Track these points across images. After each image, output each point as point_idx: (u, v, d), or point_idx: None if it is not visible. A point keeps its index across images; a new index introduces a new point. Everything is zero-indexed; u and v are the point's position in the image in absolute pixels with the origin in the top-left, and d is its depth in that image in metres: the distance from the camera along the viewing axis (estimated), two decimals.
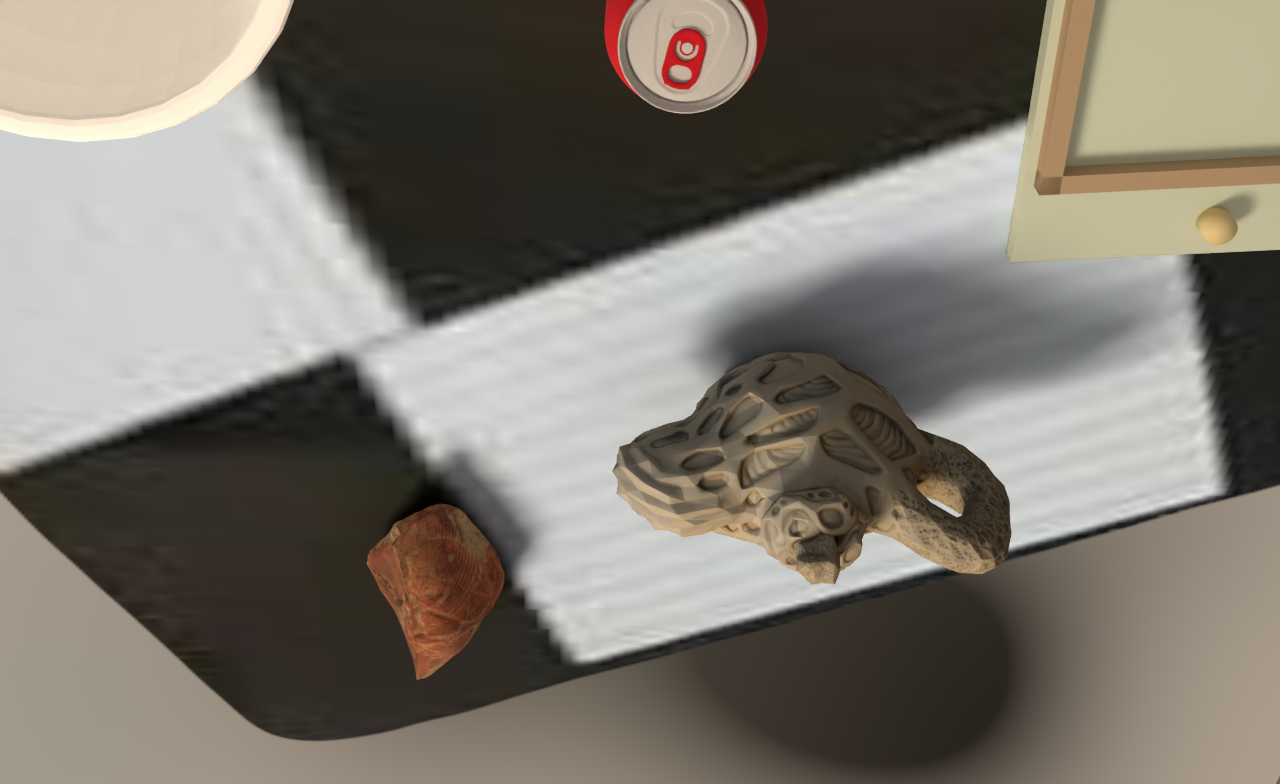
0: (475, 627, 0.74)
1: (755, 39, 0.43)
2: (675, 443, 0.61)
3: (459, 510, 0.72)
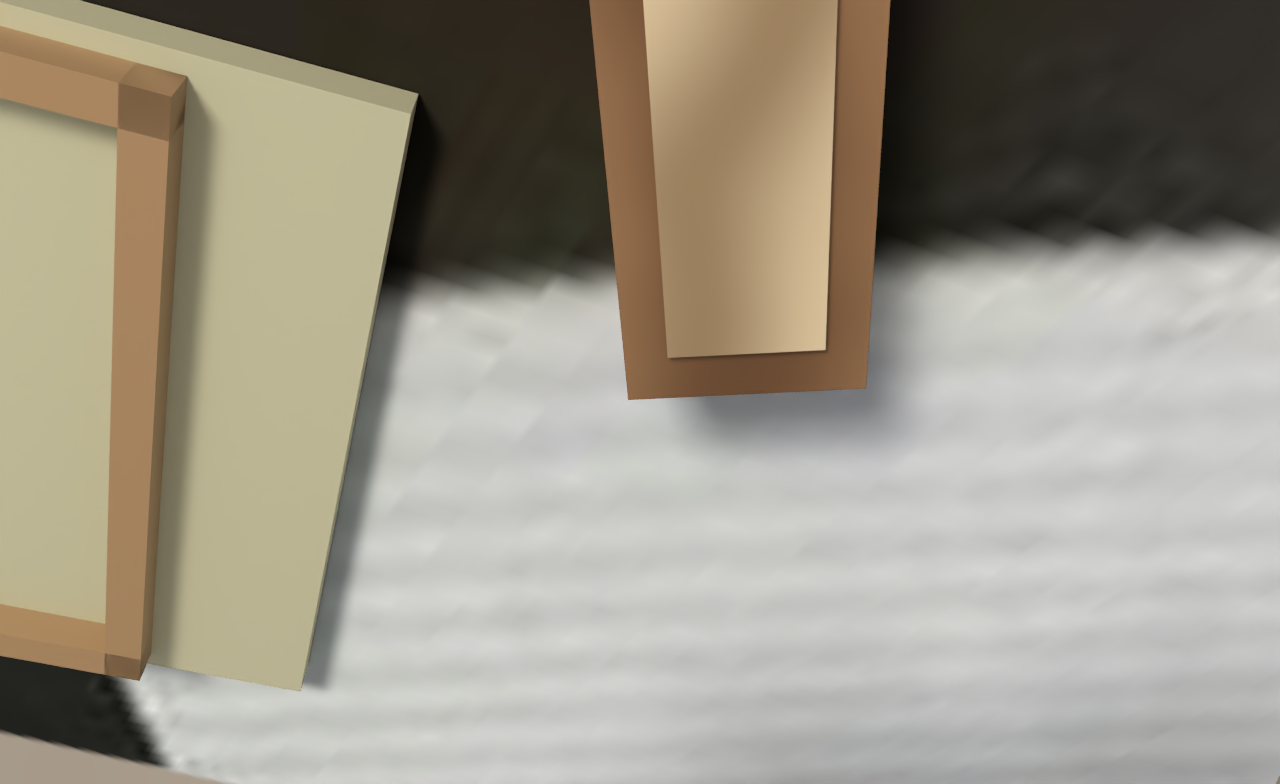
0: None
1: None
2: None
3: None
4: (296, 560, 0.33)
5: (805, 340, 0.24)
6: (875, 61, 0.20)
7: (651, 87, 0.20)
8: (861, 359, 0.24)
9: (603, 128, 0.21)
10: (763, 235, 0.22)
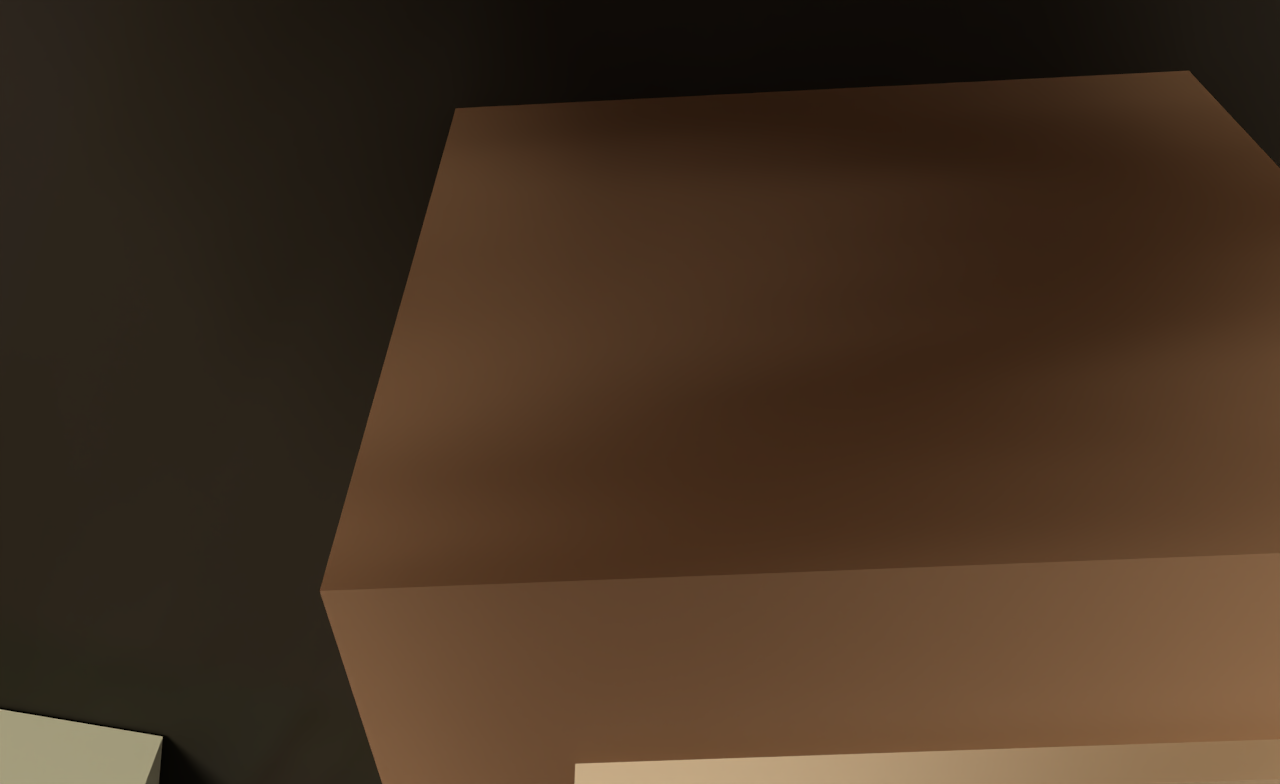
0: None
1: None
2: None
3: None
4: None
5: None
6: None
7: None
8: None
9: None
10: None
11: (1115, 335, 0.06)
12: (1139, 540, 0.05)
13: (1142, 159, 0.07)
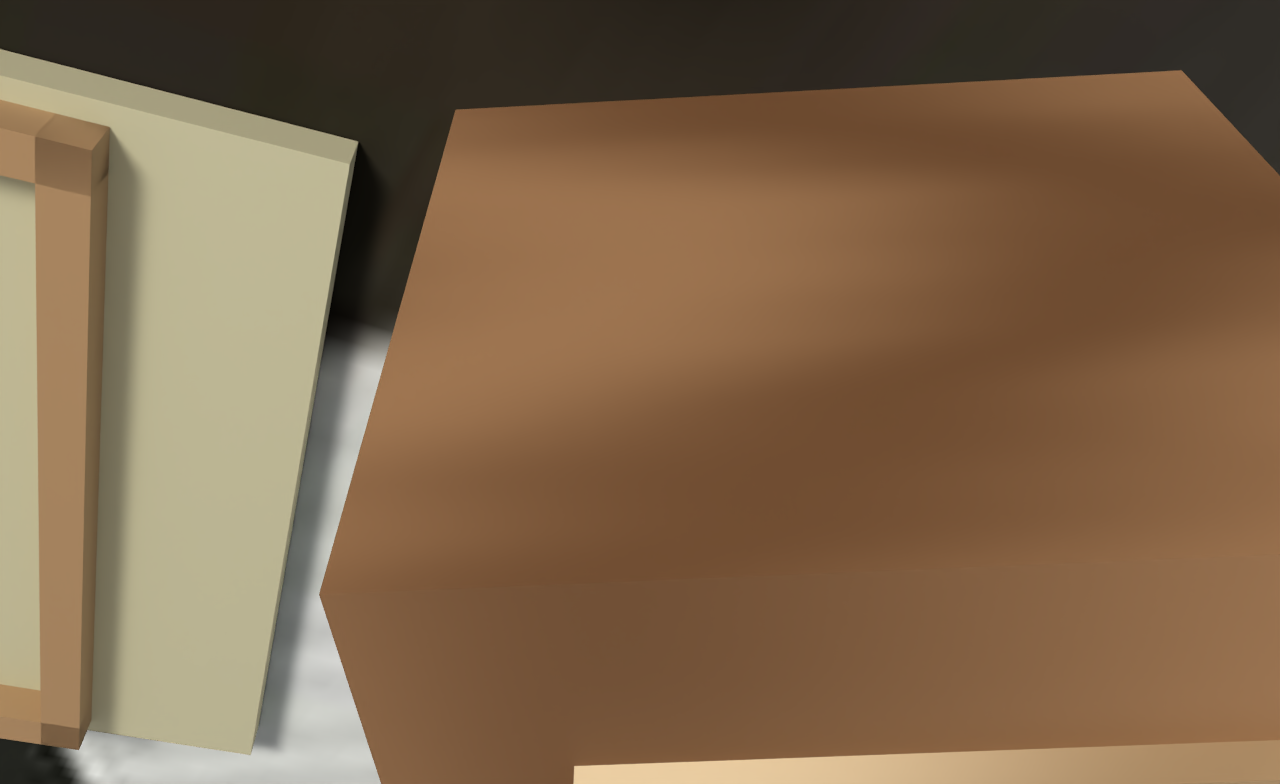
0: None
1: None
2: None
3: None
4: (242, 622, 0.31)
5: None
6: None
7: None
8: None
9: None
10: None
11: (1112, 338, 0.06)
12: (1134, 542, 0.05)
13: (1138, 163, 0.07)
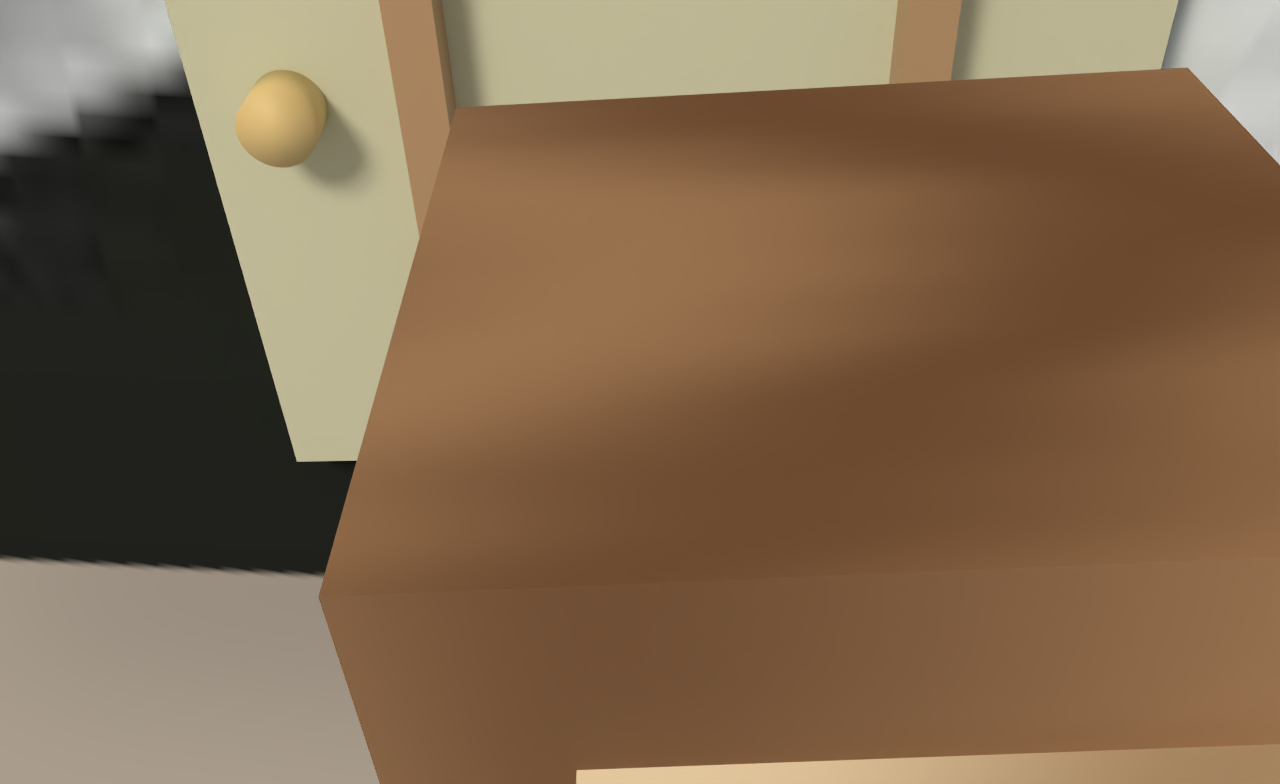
0: None
1: None
2: None
3: None
4: None
5: None
6: None
7: None
8: None
9: None
10: None
11: (1119, 337, 0.06)
12: (1143, 544, 0.05)
13: (1145, 160, 0.07)
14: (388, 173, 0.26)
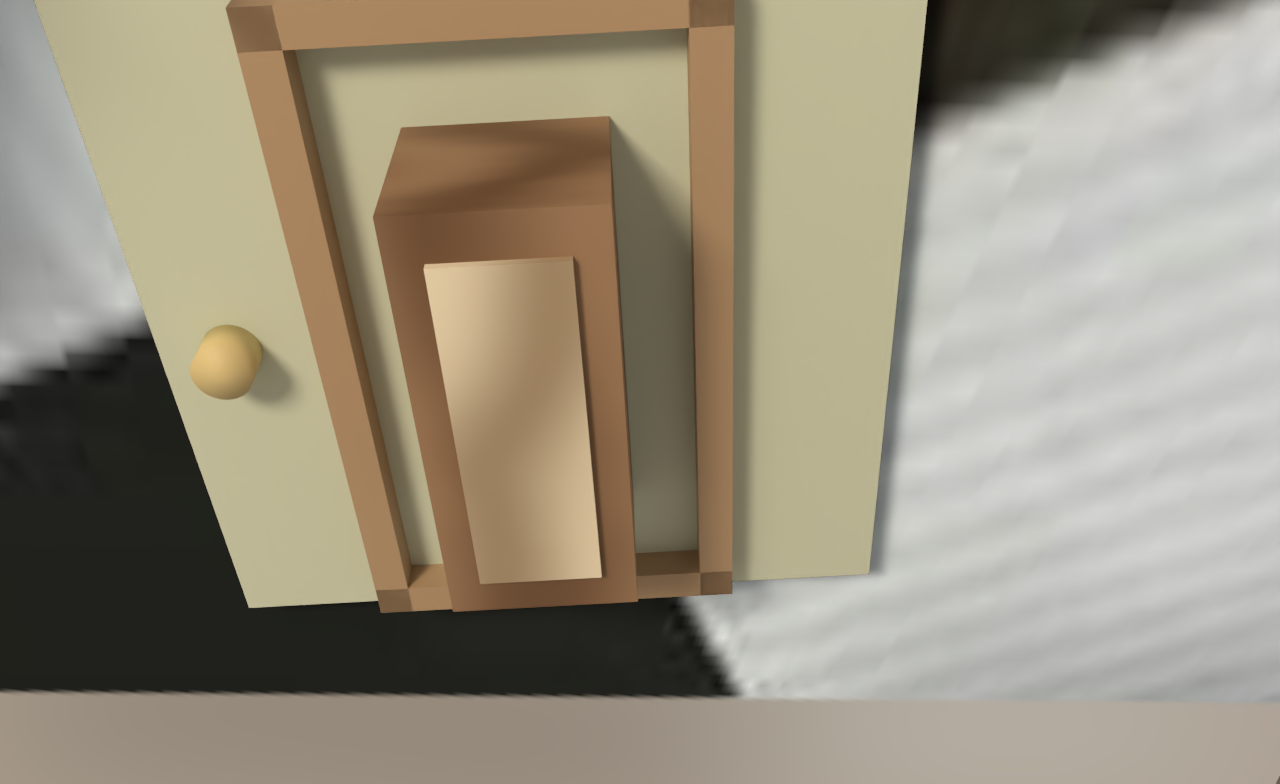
0: None
1: None
2: None
3: None
4: (857, 433, 0.34)
5: (585, 571, 0.31)
6: (615, 390, 0.27)
7: (450, 408, 0.27)
8: (631, 582, 0.31)
9: (417, 432, 0.28)
10: (544, 502, 0.29)
11: (545, 176, 0.26)
12: (526, 206, 0.25)
13: (578, 140, 0.27)
14: (312, 393, 0.33)
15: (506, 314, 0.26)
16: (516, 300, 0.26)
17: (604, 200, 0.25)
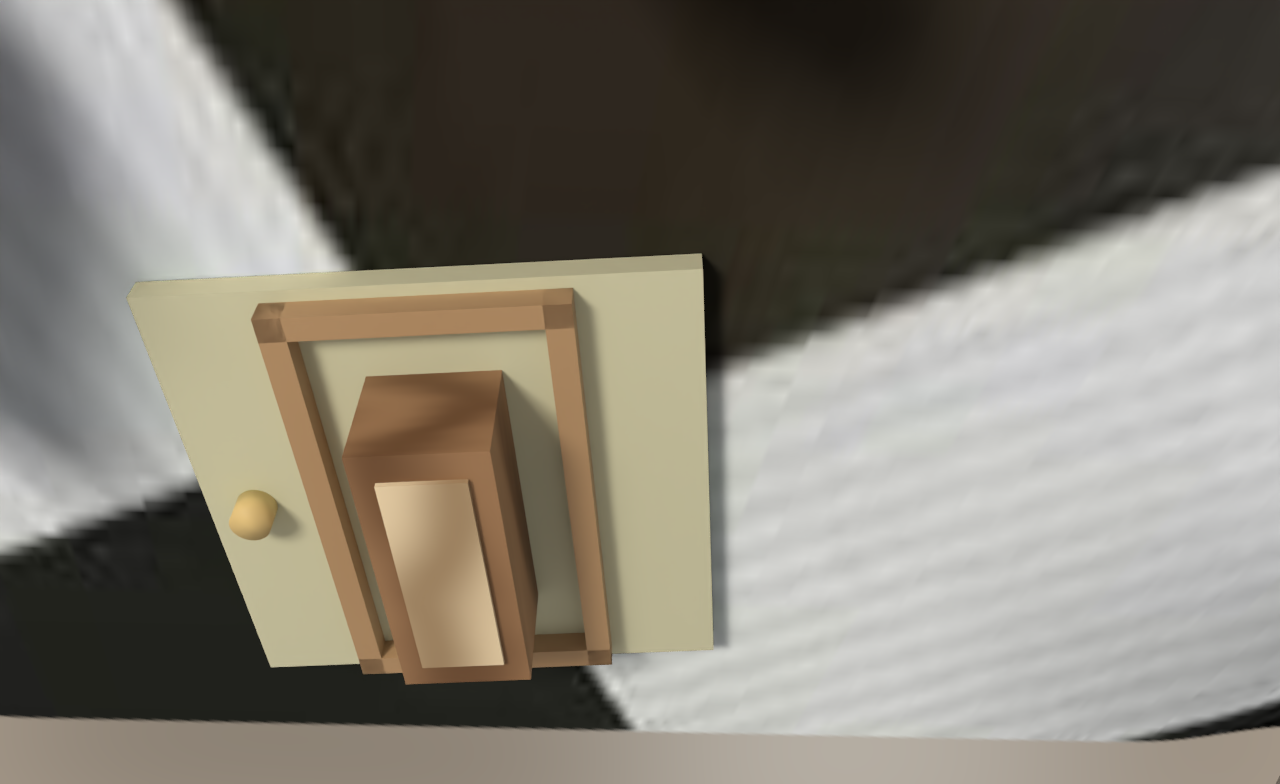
0: None
1: None
2: None
3: None
4: (692, 559, 0.49)
5: (492, 661, 0.45)
6: (502, 553, 0.42)
7: (396, 564, 0.42)
8: (525, 667, 0.46)
9: (375, 576, 0.43)
10: (461, 619, 0.44)
11: (452, 425, 0.40)
12: (436, 451, 0.39)
13: (478, 392, 0.42)
14: (311, 531, 0.48)
15: (428, 511, 0.40)
16: (434, 504, 0.40)
17: (486, 448, 0.39)
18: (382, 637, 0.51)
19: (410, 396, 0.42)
